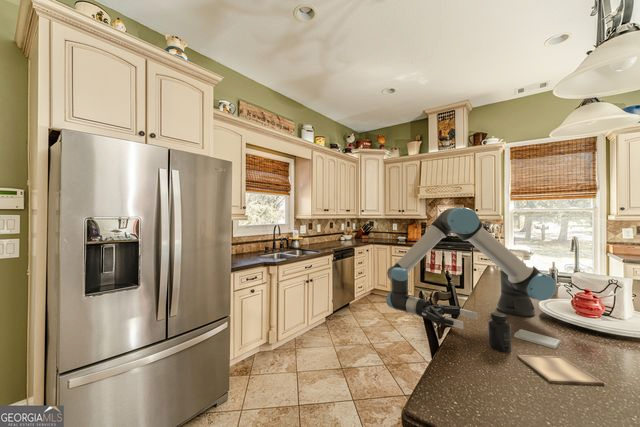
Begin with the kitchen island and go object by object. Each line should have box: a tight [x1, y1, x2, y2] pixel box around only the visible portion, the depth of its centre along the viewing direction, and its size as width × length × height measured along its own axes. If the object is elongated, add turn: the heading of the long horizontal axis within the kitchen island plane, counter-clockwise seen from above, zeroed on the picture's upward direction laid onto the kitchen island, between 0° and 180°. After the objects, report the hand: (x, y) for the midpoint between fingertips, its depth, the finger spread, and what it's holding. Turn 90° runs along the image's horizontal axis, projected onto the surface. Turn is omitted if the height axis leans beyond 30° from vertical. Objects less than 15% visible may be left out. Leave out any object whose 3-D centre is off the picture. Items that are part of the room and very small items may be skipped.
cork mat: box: [516, 354, 605, 386], centre depth 81 cm, size 14×14×1 cm
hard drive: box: [513, 328, 562, 350], centre depth 101 cm, size 2×8×12 cm
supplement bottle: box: [487, 311, 513, 353], centre depth 95 cm, size 7×7×12 cm
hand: (470, 320), depth 102 cm, fingers open, 13 cm apart
